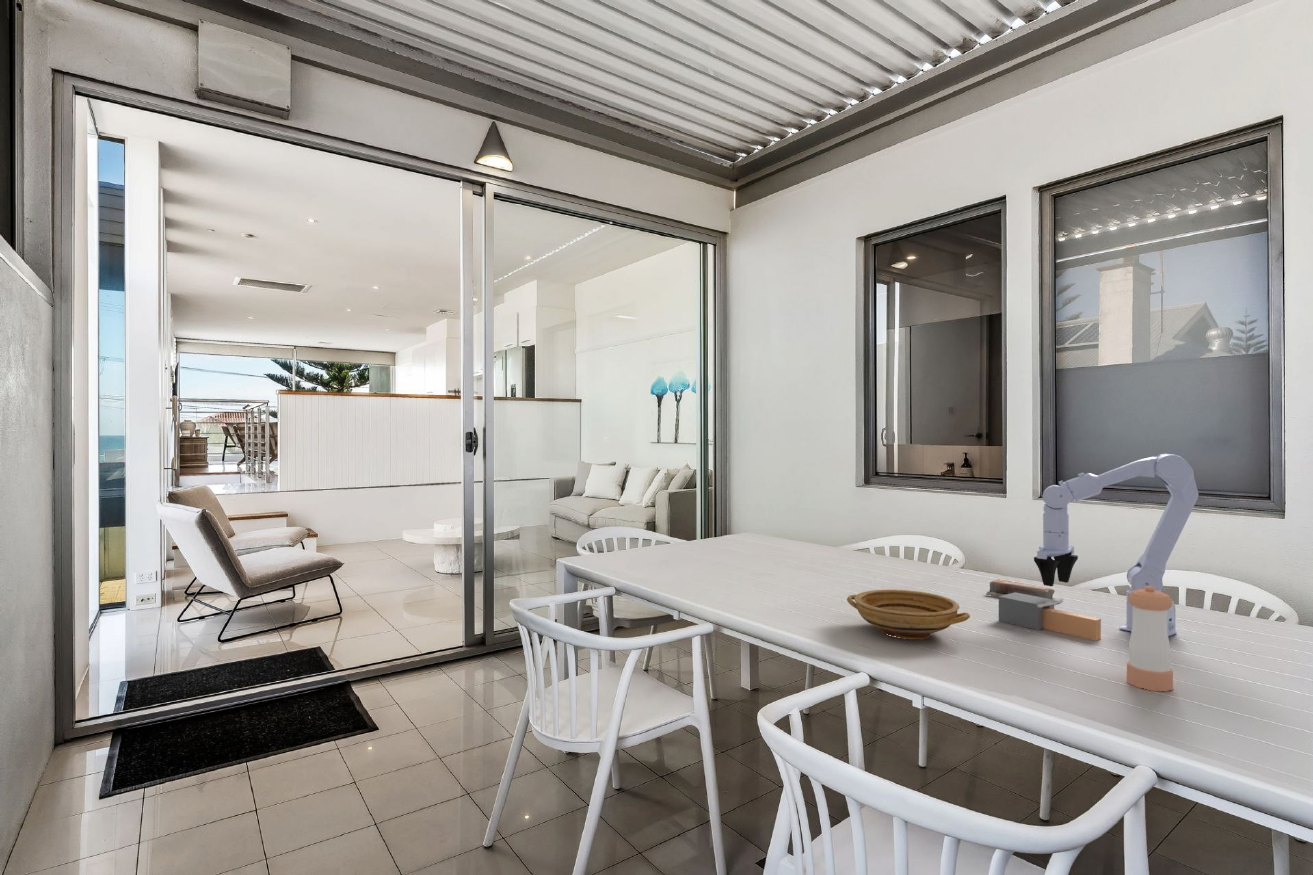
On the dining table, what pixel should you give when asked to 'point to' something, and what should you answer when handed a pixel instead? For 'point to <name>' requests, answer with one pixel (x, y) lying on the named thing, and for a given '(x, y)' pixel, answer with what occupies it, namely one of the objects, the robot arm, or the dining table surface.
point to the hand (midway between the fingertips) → (1056, 583)
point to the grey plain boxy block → (1023, 609)
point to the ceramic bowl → (907, 612)
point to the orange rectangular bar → (1072, 623)
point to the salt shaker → (1149, 641)
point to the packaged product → (1020, 589)
